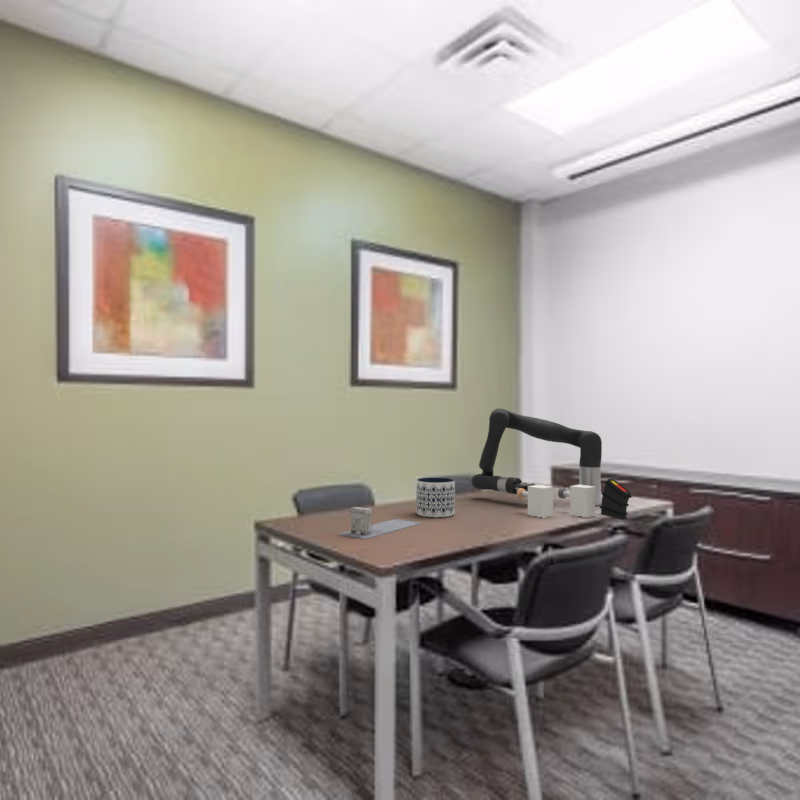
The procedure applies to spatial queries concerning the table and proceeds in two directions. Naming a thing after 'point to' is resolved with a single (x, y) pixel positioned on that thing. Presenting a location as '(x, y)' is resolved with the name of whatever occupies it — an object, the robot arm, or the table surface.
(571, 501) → the block
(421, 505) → the planter
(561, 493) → the knob
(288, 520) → the table surface
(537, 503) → the block
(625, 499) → the magazine
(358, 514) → the grey plate with block
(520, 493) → the knob
